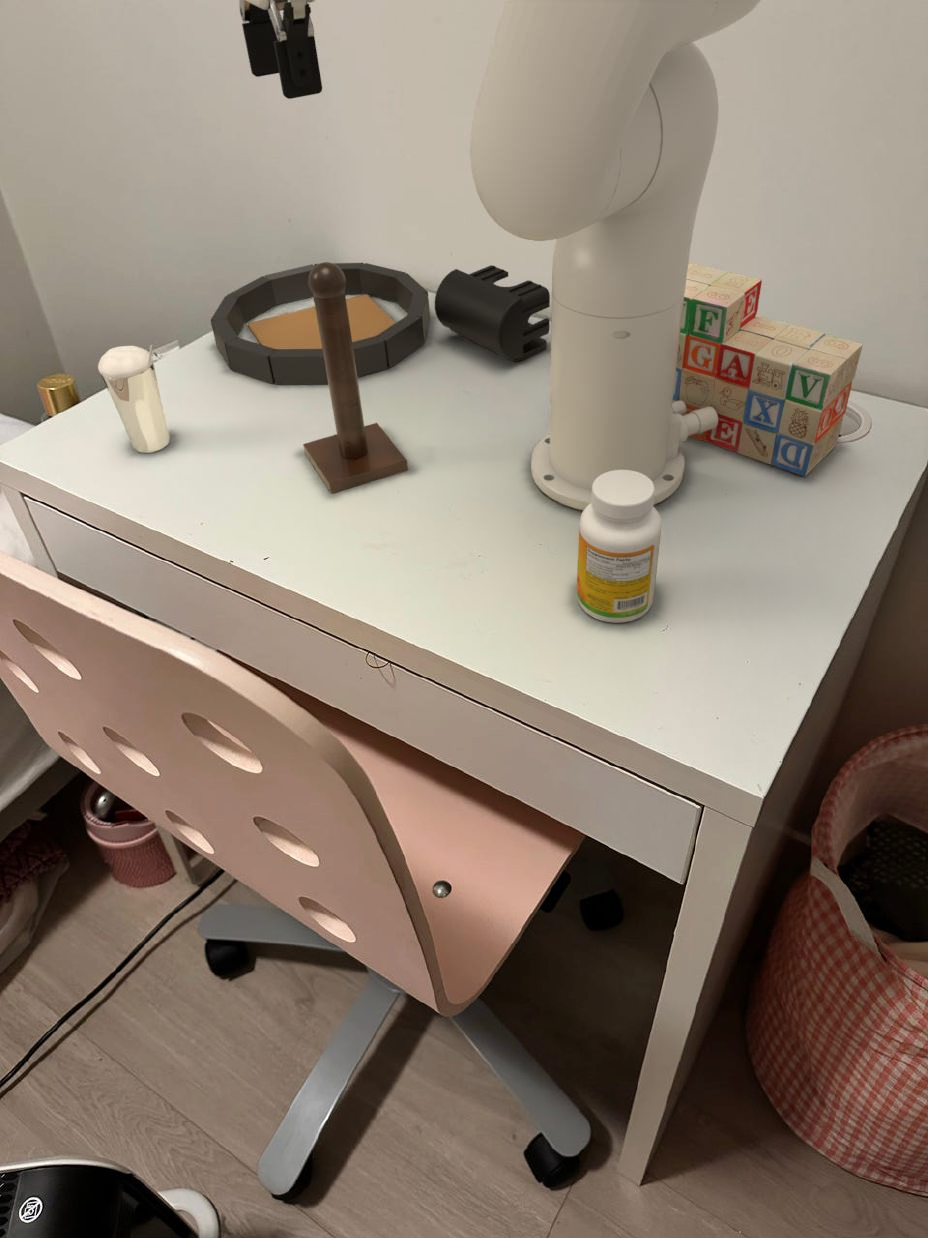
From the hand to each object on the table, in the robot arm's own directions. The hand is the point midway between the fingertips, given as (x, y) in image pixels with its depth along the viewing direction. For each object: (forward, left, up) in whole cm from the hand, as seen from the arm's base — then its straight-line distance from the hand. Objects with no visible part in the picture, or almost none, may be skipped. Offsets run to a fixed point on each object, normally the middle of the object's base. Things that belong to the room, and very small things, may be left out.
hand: (286, 83), depth 79 cm
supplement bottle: (-5, +46, -25) cm, 53 cm away
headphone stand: (+5, +20, -25) cm, 32 cm away
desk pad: (-1, -5, -25) cm, 25 cm away
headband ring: (-1, -5, -25) cm, 25 cm away
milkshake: (+20, +8, -25) cm, 33 cm away
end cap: (-15, +7, -25) cm, 30 cm away
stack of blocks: (-25, +30, -25) cm, 46 cm away
